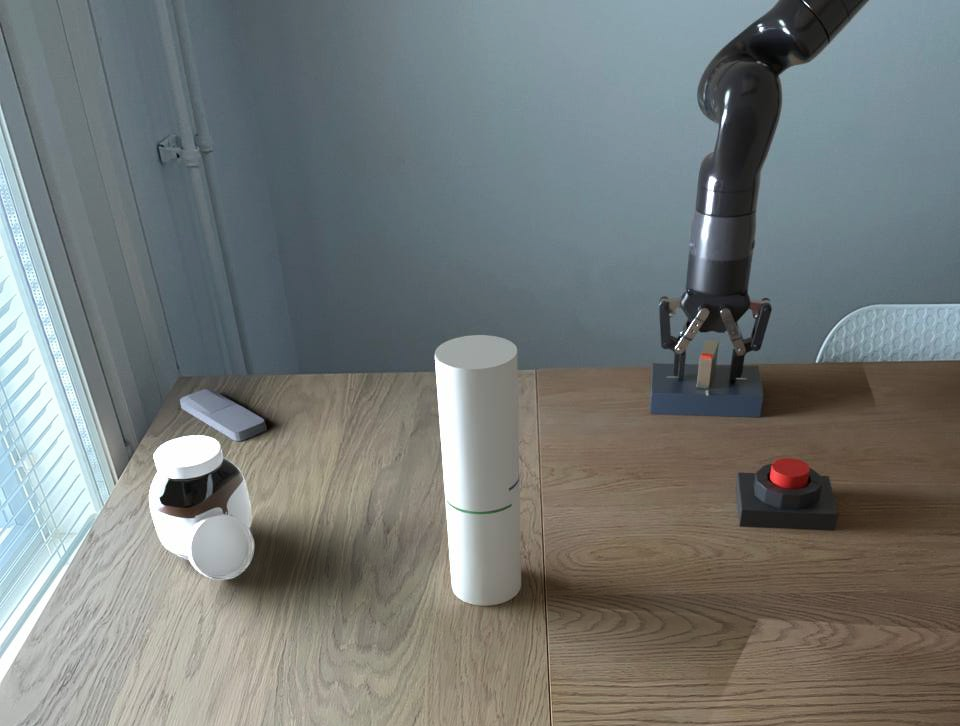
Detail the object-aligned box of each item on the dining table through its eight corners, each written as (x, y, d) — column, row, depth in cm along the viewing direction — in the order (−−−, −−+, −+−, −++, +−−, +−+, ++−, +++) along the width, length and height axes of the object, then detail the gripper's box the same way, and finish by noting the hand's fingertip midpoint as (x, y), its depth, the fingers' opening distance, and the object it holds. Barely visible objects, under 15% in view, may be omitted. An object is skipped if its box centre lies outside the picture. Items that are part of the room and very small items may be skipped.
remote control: (270, 433, 129) (209, 395, 137) (268, 421, 128) (206, 383, 136) (238, 446, 127) (178, 407, 135) (236, 434, 126) (175, 395, 134)
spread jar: (213, 514, 113) (190, 422, 106) (293, 536, 109) (275, 443, 102) (141, 569, 105) (111, 474, 98) (224, 596, 101) (199, 499, 93)
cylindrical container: (533, 575, 101) (531, 343, 86) (499, 613, 97) (491, 375, 81) (474, 557, 104) (462, 329, 89) (438, 593, 100) (418, 359, 84)
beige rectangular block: (703, 368, 131) (706, 337, 128) (715, 369, 130) (719, 338, 128) (696, 387, 126) (699, 356, 124) (708, 389, 126) (712, 357, 123)
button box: (825, 492, 112) (831, 461, 109) (834, 531, 105) (841, 499, 103) (735, 488, 113) (739, 458, 110) (739, 526, 107) (743, 495, 104)
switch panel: (755, 384, 133) (758, 362, 131) (760, 419, 126) (764, 396, 124) (651, 381, 135) (652, 360, 133) (649, 416, 127) (651, 393, 125)
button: (805, 472, 108) (808, 458, 107) (809, 491, 105) (812, 477, 104) (768, 471, 109) (770, 457, 108) (770, 490, 106) (773, 475, 105)
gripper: (780, 238, 119) (760, 368, 130) (660, 237, 121) (651, 365, 132) (785, 258, 114) (764, 393, 124) (660, 257, 116) (650, 390, 126)
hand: (706, 378), depth 128 cm, fingers closed on switch panel, 6 cm apart
